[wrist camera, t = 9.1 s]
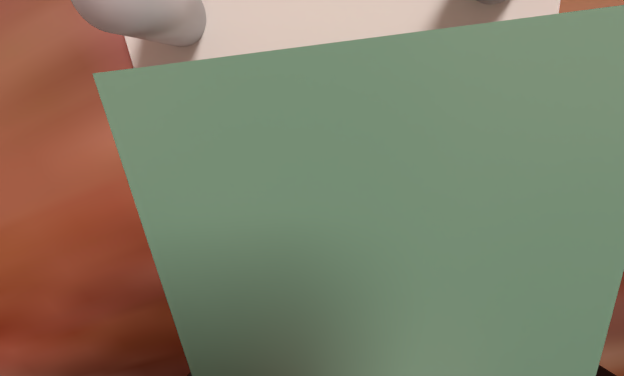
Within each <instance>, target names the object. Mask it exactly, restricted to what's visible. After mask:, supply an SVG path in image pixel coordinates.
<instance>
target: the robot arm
mask: <svg viewBox="0 0 624 376" xmlns="http://www.w3.org/2000/svg"><path fill="white" fill-rule="evenodd" d="M187 376H192V374H191V372H190V373H189V374H188V375H187ZM596 376H616V375H615V374H613V373H611V372H610V371H608V370H606V369H605V368H603V367H602V366H600V365H599V366H598V370H597V374H596Z"/></svg>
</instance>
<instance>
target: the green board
mask: <svg viewBox="0 0 624 376" xmlns="http://www.w3.org/2000/svg"><path fill="white" fill-rule="evenodd" d="M93 77H94V80H95V83H96V86H97V89H98V92H99V95H100V98H101V101H102V104H103V107H104V110H105V113H106V116H107V119H108V122H109V125H110V128H111V131H112V134H113V137H114V140H115V144H116V147H117V150H118V153H119V156H120V159H121V162H122V165H123V168H124V171H125V174H126V177H127V180H128V183H129V186H130V189H131V192H132V195H133V198H134V201H135V204H136V207H137V210H138V213H139V216H140V219H141V222H142V225H143V229H144V232H145V235H146V238H147V241H148V244H149V247H150V250H151V253H152V256H153V259H154V262H155V265H156V268H157V271H158V274H159V277H160V280H161V283H162V286H163V289H164V292H165V295H166V298H167V301H168V304H169V307H170V310H171V314H172V317H173V320H174V323H175V326H176V329H177V332H178V335H179V338H180V341H181V344H182V347H183V350H184V353H185V356H186V359H187V362H188V365H189V368H190V371H191V374H192V376H596V374H597V370H598V366H599V362H600V358H601V354H602V351H603V347H604V343H605V339H606V335H607V332H608V328H609V324H610V320H611V316H612V313H613V309H614V305H615V301H616V297H617V294H618V290H619V286H620V282H621V278H622V274H623V271H624V5H621V6H613V7H605V8H598V9H590V10H582V11H574V12H567V13H559V14H551V15H543V16H536V17H528V18H520V19H512V20H505V21H497V22H489V23H481V24H474V25H466V26H458V27H450V28H443V29H435V30H427V31H419V32H412V33H404V34H396V35H388V36H381V37H373V38H365V39H357V40H350V41H342V42H334V43H326V44H319V45H311V46H303V47H295V48H287V49H280V50H272V51H264V52H256V53H249V54H241V55H233V56H225V57H218V58H210V59H202V60H194V61H187V62H179V63H171V64H163V65H156V66H148V67H140V68H132V69H125V70H117V71H109V72H101V73H94V74H93Z"/></svg>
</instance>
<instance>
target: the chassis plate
mask: <svg viewBox="0 0 624 376" xmlns="http://www.w3.org/2000/svg"><path fill="white" fill-rule="evenodd" d="M71 1H72V3H73V5H74V7H75V8H76V10H77V11H78V13H79V14H80V15H81V16H82V17H83V18H84V19H85V20H86V21H87V22H88V23H89V24H91V25H92V26H94V27H96V28H97V29H99V30H102V31H105V32H109V33H114V34H119V35H124V36H125V40H126V43H127V47H128V50H129V53H130V57H131V60H132V64H133V67H134V68H140V67H148V66H156V65H163V64H171V63H179V62H187V61H194V60H202V59H210V58H218V57H225V56H233V55H241V54H249V53H256V52H264V51H272V50H280V49H287V48H295V47H303V46H311V45H319V44H326V43H334V42H342V41H350V40H357V39H365V38H373V37H381V36H388V35H396V34H404V33H412V32H419V31H427V30H435V29H443V28H450V27H458V26H466V25H474V24H481V23H489V22H497V21H505V20H512V19H520V18H528V17H536V16H543V15H551V14H559V7H560V0H71Z"/></svg>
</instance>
